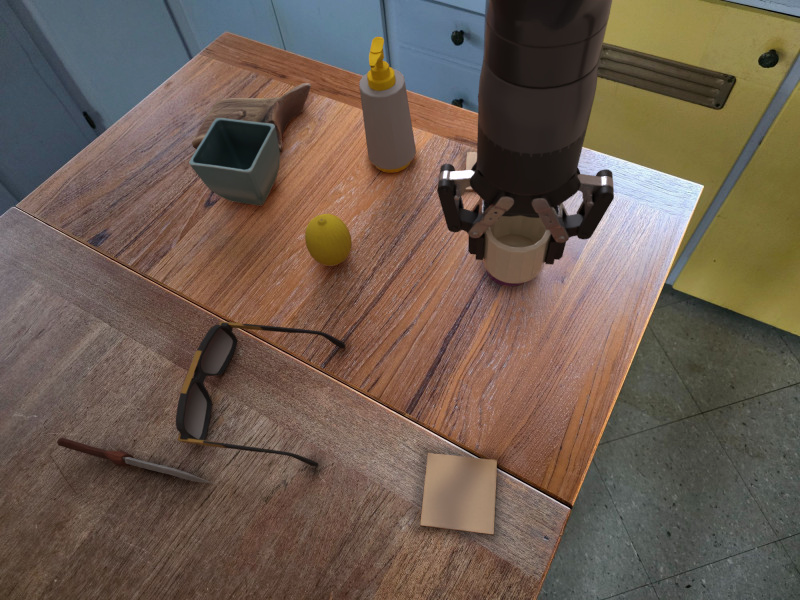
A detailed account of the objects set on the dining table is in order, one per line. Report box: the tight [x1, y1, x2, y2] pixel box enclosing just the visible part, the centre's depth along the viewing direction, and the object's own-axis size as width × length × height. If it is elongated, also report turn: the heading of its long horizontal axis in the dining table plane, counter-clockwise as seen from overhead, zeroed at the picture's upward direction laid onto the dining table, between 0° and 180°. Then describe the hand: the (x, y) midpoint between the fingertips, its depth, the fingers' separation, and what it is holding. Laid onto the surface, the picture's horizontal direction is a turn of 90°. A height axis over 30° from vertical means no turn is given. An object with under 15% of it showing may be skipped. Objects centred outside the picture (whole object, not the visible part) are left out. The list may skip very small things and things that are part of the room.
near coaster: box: [419, 452, 498, 536], centre depth 54 cm, size 7×7×1 cm
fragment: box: [191, 82, 312, 154], centre depth 84 cm, size 13×16×5 cm
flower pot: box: [188, 118, 281, 206], centre depth 75 cm, size 9×9×9 cm
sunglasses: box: [175, 321, 346, 468], centre depth 60 cm, size 14×15×5 cm
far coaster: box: [464, 151, 477, 192], centre depth 76 cm, size 7×7×1 cm
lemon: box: [304, 213, 353, 267], centre depth 67 cm, size 6×6×8 cm
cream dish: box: [482, 216, 551, 284], centre depth 51 cm, size 6×6×5 cm
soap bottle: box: [358, 36, 417, 174], centre depth 71 cm, size 7×7×18 cm
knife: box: [56, 437, 216, 485], centre depth 58 cm, size 18×2×3 cm, turn 76°
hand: (514, 254), depth 52 cm, fingers closed on cream dish, 6 cm apart
